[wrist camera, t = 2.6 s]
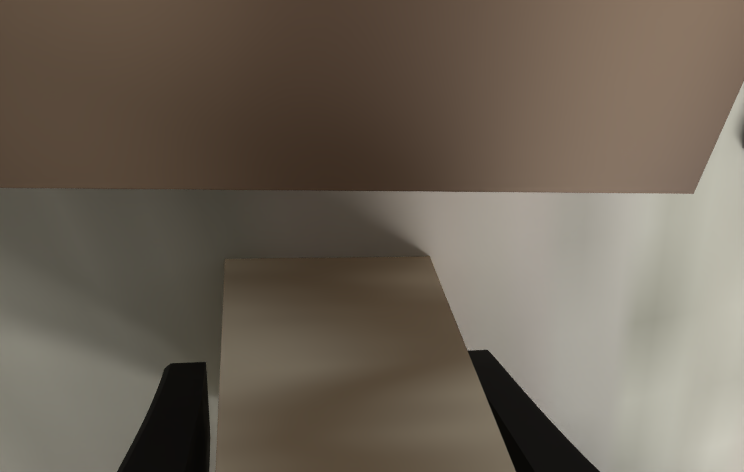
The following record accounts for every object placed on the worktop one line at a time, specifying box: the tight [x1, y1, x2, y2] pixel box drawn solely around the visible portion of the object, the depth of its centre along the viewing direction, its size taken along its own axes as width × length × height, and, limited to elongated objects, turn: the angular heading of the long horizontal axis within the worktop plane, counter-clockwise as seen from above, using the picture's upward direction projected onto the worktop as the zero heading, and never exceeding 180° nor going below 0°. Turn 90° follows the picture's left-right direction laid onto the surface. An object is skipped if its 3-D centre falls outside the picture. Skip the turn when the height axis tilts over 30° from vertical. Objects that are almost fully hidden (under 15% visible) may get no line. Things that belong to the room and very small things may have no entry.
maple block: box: [216, 256, 516, 472], centre depth 11 cm, size 4×4×6 cm
